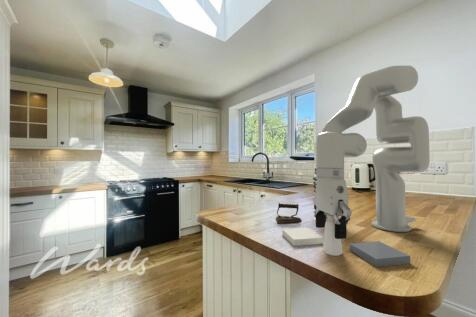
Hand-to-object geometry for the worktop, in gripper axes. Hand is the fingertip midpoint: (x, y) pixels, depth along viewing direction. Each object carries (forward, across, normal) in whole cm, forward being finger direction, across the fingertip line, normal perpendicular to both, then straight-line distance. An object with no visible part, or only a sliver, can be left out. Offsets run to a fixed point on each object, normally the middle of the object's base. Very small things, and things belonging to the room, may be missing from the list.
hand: (329, 232), depth 62 cm
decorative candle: (+6, +30, -17) cm, 35 cm away
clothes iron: (+6, +31, 0) cm, 32 cm away
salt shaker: (+6, 0, -1) cm, 6 cm away
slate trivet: (+6, -5, -12) cm, 14 cm away
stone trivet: (+6, +11, +3) cm, 13 cm away
